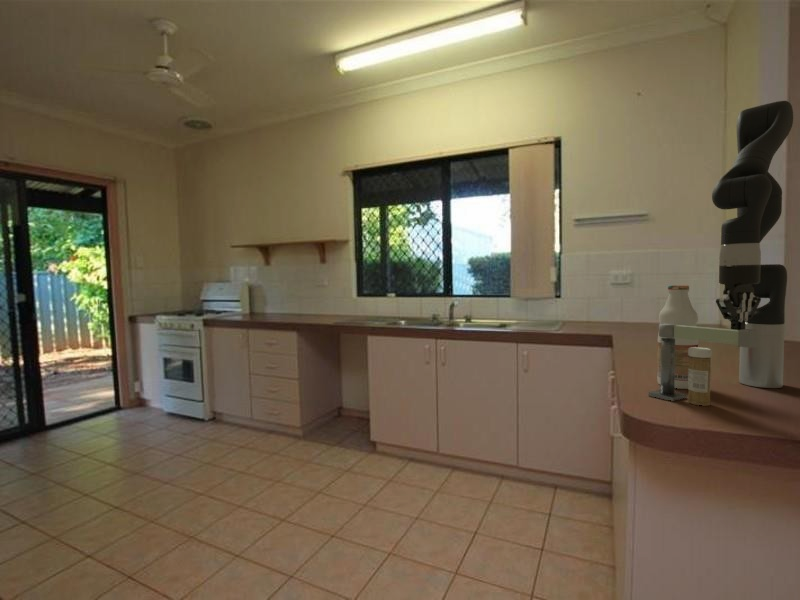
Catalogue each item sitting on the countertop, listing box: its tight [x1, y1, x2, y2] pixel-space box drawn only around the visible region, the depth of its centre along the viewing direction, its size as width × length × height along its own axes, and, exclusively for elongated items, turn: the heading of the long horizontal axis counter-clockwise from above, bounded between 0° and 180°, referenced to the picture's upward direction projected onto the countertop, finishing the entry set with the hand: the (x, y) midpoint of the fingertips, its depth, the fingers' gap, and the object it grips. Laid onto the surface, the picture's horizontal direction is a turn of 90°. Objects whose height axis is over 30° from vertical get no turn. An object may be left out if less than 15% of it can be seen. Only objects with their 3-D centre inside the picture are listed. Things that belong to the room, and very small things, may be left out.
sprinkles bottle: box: [687, 346, 713, 407], centre depth 100 cm, size 5×5×14 cm
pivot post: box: [648, 338, 687, 402], centre depth 106 cm, size 6×6×15 cm
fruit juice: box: [656, 284, 699, 390], centre depth 117 cm, size 9×9×28 cm
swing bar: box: [658, 323, 757, 348], centre depth 99 cm, size 20×4×4 cm, turn 29°
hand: (737, 337), depth 99 cm, fingers closed
